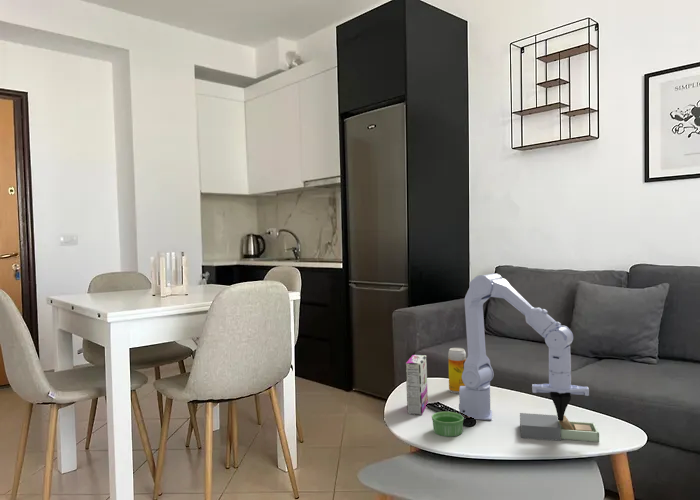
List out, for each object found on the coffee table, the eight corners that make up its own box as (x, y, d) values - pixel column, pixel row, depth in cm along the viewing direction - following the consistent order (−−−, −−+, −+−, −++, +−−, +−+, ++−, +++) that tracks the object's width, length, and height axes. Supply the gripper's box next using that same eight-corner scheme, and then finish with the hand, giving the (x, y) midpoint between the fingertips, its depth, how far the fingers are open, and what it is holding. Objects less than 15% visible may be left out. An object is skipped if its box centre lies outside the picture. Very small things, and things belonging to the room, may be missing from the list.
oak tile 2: (592, 430, 143) (592, 437, 143) (589, 425, 146) (589, 432, 146) (576, 429, 144) (576, 436, 144) (573, 424, 147) (573, 431, 148)
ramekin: (432, 425, 156) (431, 410, 155) (463, 426, 154) (463, 411, 154) (431, 437, 147) (431, 421, 147) (464, 438, 145) (464, 422, 145)
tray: (561, 439, 143) (561, 429, 143) (558, 429, 150) (557, 420, 150) (599, 442, 140) (599, 432, 140) (594, 431, 148) (594, 422, 148)
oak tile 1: (560, 423, 145) (566, 420, 144) (558, 418, 148) (564, 415, 148) (568, 436, 144) (575, 432, 144) (566, 430, 148) (573, 427, 147)
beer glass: (462, 394, 184) (461, 351, 183) (446, 392, 187) (445, 350, 187) (468, 390, 189) (468, 348, 188) (452, 387, 192) (452, 346, 192)
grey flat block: (521, 437, 145) (521, 425, 144) (520, 424, 154) (519, 412, 154) (560, 440, 142) (560, 427, 142) (556, 427, 152) (556, 415, 151)
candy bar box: (413, 403, 176) (412, 354, 176) (428, 404, 174) (427, 355, 174) (406, 414, 165) (405, 362, 165) (421, 415, 164) (420, 363, 163)
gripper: (533, 373, 144) (533, 422, 145) (590, 375, 140) (591, 426, 141) (531, 366, 151) (532, 413, 151) (586, 369, 147) (586, 417, 147)
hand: (560, 419), depth 146 cm, fingers closed
